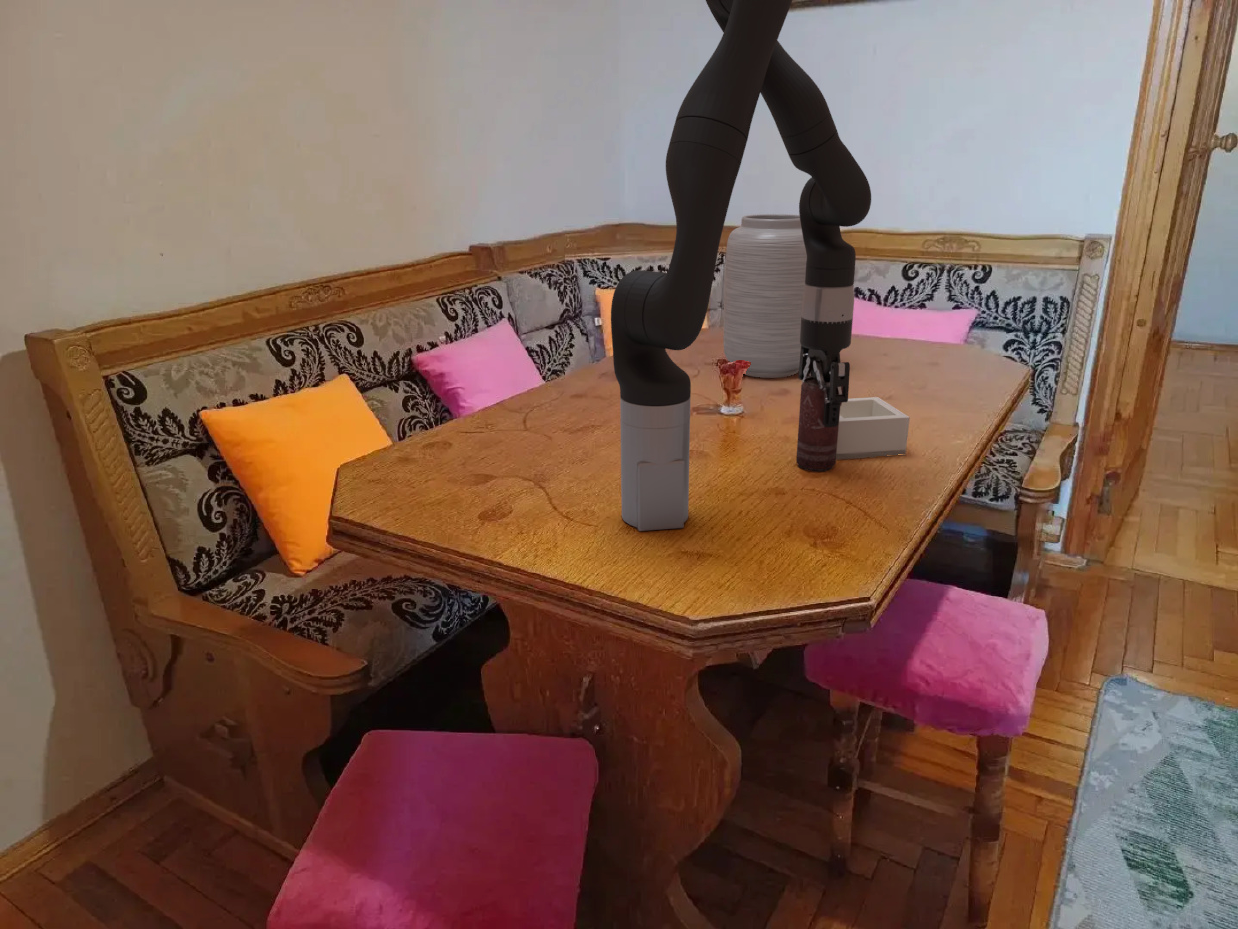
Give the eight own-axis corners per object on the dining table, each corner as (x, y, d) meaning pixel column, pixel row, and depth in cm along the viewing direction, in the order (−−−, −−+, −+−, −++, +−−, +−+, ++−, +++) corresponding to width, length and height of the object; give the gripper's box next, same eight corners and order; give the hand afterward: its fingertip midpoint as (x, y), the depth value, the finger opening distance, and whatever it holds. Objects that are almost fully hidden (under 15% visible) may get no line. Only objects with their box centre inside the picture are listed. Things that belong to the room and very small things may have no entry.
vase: (743, 385, 180) (750, 221, 168) (708, 363, 198) (712, 214, 186) (828, 377, 185) (841, 218, 173) (787, 357, 203) (796, 211, 191)
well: (905, 455, 138) (909, 417, 136) (835, 459, 137) (838, 421, 135) (874, 432, 150) (877, 396, 147) (809, 436, 148) (811, 400, 146)
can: (837, 473, 131) (845, 386, 126) (795, 471, 132) (801, 384, 127) (836, 460, 137) (843, 376, 132) (796, 458, 138) (801, 374, 133)
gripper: (871, 322, 120) (861, 430, 126) (832, 304, 133) (825, 403, 139) (820, 325, 119) (813, 434, 125) (786, 307, 132) (781, 406, 138)
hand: (819, 417), depth 132 cm, fingers open, 8 cm apart
